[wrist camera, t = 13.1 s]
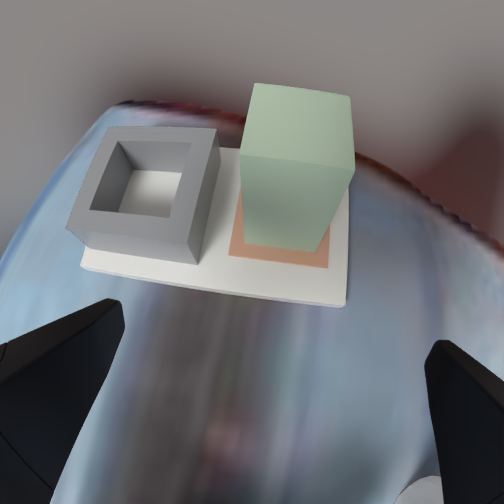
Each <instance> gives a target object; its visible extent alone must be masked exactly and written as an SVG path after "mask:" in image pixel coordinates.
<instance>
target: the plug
mask: <svg viewBox="0 0 504 504" xmlns="http://www.w3.org/2000/svg"><path fill="white" fill-rule="evenodd" d="M239 164H240V180H241V196H242V211H243V227H244V242H245V244H252V245H260V246H268V247H275V248H283V249H290V250H298V251H306V252H313V253H315V252H316V250H317V248H318V246H319V244H320V242H321V240H322V238H323V236H324V234H325V232H326V230H327V228H328V226H329V224H330V222H331V220H332V218H333V216H334V214H335V212H336V210H337V208H338V206H339V204H340V202H341V200H342V198H343V196H344V193H345V191H346V189H347V187H348V185H349V183H350V181H351V179H352V177H353V175H354V172H355V154H354V138H353V125H352V114H351V103H350V97H349V96H345V95H340V94H334V93H328V92H322V91H316V90H310V89H302V88H296V87H288V86H279V85H270V84H259V83H255V84H254V89H253V93H252V98H251V102H250V106H249V111H248V115H247V120H246V124H245V129H244V133H243V138H242V142H241V147H240V152H239Z"/></svg>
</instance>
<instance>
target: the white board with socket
mask: <svg viewBox="0 0 504 504" xmlns="http://www.w3.org/2000/svg"><path fill="white" fill-rule="evenodd" d="M239 152H240V149H235V148H224V147H219V142H218V135H217V129H212V128H194V127H164V126H123V127H108V129H107V131H106V133H105V135H104V137H103V139H102V141H101V143H100V146H99V148H98V150H97V152H96V154H95V156H94V158H93V160H92V163H91V165H90V167H89V169H88V172H87V174H86V176H85V179H84V181H83V183H82V186H81V188H80V191H79V193H78V196H77V198H76V201H75V203H74V206H73V208H72V211H71V214H70V217H69V219H68V222H67V225H66V229H68V230H69V231H70V232H71V233H72V234H73V235H74V236H76V237H77V238H78V239H79V240H80V241H82V242H83V243H84V244H85V245H86V248H85V251H84V254H83V258H82V261H81V265H80V266H81V267H83V268H84V269H86V270H90V271H95V272H100V273H105V274H111V275H116V276H121V277H127V278H132V279H138V280H144V281H149V282H155V283H161V284H167V285H173V286H179V287H185V288H192V289H198V290H204V291H211V292H218V293H224V294H231V295H238V296H245V297H253V298H260V299H267V300H275V301H283V302H291V303H299V304H308V305H316V306H325V307H334V308H343V307H344V306H345V302H346V285H347V264H348V226H349V190H348V187H347V189H346V191H345V193H344V196H343V198H342V200H341V202H340V204H339V206H338V208H337V210H336V212H335V214H334V216H333V218H332V220H331V222H330V224H329V226H328V228H327V230H326V232H325V234H324V236H323V238H322V240H321V242H320V244H319V246H318V248H317V250H316V252H315V253H313V252H306V251H298V250H290V249H283V248H275V247H268V246H260V245H252V244H245V242H244V227H243V211H242V196H241V180H240V164H239Z"/></svg>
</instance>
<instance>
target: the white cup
mask: <svg viewBox="0 0 504 504" xmlns="http://www.w3.org/2000/svg"><path fill="white" fill-rule="evenodd" d="M394 504H444V502H443V492H442V483H441V477H439V476H432V475H431V476H428V477H424V478H420V479H419V480H417V481H415V482H414V483H412V484H411V485H409V486H408V487H407V488H406V489H405V490H404V491H403V492H402V493H401V494H400V495H399V496H398V498H397V500H396V502H395V503H394Z"/></svg>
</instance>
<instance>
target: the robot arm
mask: <svg viewBox="0 0 504 504" xmlns="http://www.w3.org/2000/svg"><path fill="white" fill-rule="evenodd" d="M124 330H125V322H124V316H123V309H122V304H121V302H120V301H118V300H114V299H110V298H106V299H104V300H102V301H99V302H97V303H95V304H92V305H90V306H88V307H85V308H83V309H81V310H78V311H76V312H74V313H72V314H69V315H67V316H65V317H62V318H60V319H58V320H56V321H53V322H51V323H49V324H46V325H44V326H42V327H40V328H37V329H35V330H33V331H31V332H28V333H26V334H24V335H22V336H19V337H17V338H15V339H13V340H10V341H9V342H8V343H7V342H6V343H4V344H1V345H0V504H50V501H51V498H52V496H53V493H54V491H53V490H55V488H56V485H57V483H58V481H59V478H60V476H61V473H62V471H63V469H64V466H65V464H66V462H67V459H68V457H69V455H70V452H71V450H72V448H73V446H74V443H75V441H76V439H77V437H78V435H79V432H80V430H81V428H82V426H83V424H84V422H85V420H86V417H87V415H88V413H89V411H90V409H91V407H92V405H93V403H94V401H95V399H96V397H97V395H98V393H99V391H100V389H101V387H102V385H103V383H104V381H105V379H106V377H107V374H108V372H109V369H110V367H111V364H112V362H113V359H114V356H115V354H116V351H117V348H118V346H119V343H120V341H121V338H122V336H123V333H124ZM424 370H425V377H426V384H427V392H428V401H429V409H430V415H431V420H432V425H433V431H434V436H435V442H436V448H437V454H438V460H439V467H440V475H441V483H442V492H443V502H444V504H504V381H503V380H501V379H500V378H499V377H498V376H496V375H495V374H494V373H492V372H491V371H490V370H488V369H487V368H486V367H484V366H483V365H482V364H481V363H479V362H478V361H477V360H475V359H474V358H473V357H471V356H470V355H469V354H467V353H466V352H465V351H463V350H462V349H461V348H459V347H458V346H457V345H455V344H454V343H452V342H451V341H450V340H437V341H436V342H435V343H434V345H433V347H432V349H431V351H430V353H429V355H428V357H427V359H426V361H425V365H424Z"/></svg>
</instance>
